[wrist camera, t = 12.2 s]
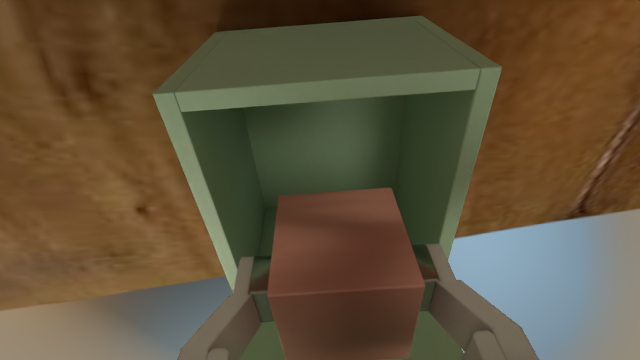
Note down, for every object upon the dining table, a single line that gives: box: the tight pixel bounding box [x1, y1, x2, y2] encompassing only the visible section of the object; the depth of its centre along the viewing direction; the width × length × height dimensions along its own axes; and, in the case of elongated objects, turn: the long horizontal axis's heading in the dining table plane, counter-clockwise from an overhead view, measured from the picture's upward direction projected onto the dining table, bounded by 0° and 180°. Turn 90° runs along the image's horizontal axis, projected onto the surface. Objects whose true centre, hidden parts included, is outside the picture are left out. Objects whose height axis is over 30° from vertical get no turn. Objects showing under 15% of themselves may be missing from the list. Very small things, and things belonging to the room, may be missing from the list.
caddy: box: [153, 16, 501, 292], centre depth 20 cm, size 15×13×10 cm
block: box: [267, 188, 425, 360], centre depth 12 cm, size 4×4×4 cm
